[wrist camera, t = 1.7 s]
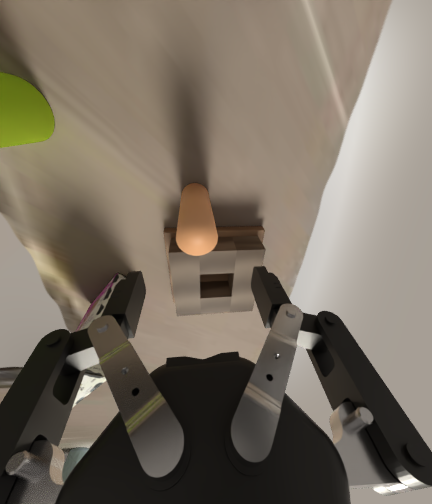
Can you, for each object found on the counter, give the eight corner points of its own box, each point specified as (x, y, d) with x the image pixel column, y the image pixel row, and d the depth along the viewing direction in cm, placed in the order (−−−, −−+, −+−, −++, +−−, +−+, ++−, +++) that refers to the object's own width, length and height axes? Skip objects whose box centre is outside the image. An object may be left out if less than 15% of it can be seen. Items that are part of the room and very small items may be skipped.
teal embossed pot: (95, 449, 96) (84, 487, 86) (77, 453, 97) (65, 491, 87) (81, 445, 90) (67, 485, 80) (62, 450, 91) (46, 490, 81)
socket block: (164, 228, 30) (159, 246, 26) (262, 226, 32) (273, 243, 28) (174, 297, 40) (171, 319, 35) (249, 292, 41) (256, 313, 37)
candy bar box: (116, 270, 34) (67, 368, 21) (141, 283, 36) (112, 378, 23) (88, 304, 38) (32, 404, 25) (112, 313, 41) (73, 409, 27)
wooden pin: (180, 182, 27) (174, 220, 17) (208, 182, 27) (218, 219, 17) (182, 209, 29) (177, 256, 19) (208, 209, 29) (217, 255, 20)
